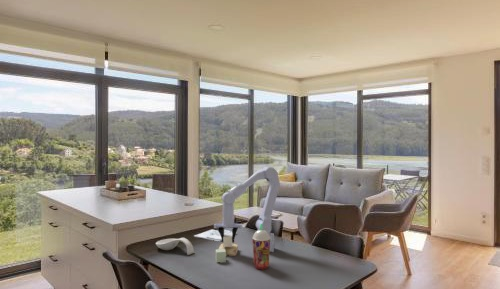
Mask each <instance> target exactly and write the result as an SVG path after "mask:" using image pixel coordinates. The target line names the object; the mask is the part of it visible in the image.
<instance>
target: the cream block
mask: <svg viewBox="0 0 500 289" xmlns="http://www.w3.org/2000/svg"><path fill="white" fill-rule="evenodd" d="M232 237H233V236H232V235H224V237H223V242H222V244H223V247H232V246H233V244H234V243H232Z"/></svg>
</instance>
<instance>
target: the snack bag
mask: <svg viewBox="0 0 500 289" xmlns="http://www.w3.org/2000/svg"><path fill="white" fill-rule="evenodd" d="M237 234H238V231H237V232H236V235H237ZM224 235H232V230H228V229H224ZM193 237H194V238H199V239H205V240H209V241H213V240H214V241H213V242H218V241H219V242H222V238H221V235H220V233H219V231H218V229H217V230H215V229H214V228H213V229H209V230H206V231H203V232H201V233H198V234H194V235H193Z"/></svg>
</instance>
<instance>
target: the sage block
mask: <svg viewBox="0 0 500 289" xmlns="http://www.w3.org/2000/svg"><path fill="white" fill-rule="evenodd" d="M215 262H220V263H226V262H227V255H226V251H225V249H219V248H218V249H215Z"/></svg>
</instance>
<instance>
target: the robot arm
mask: <svg viewBox="0 0 500 289" xmlns="http://www.w3.org/2000/svg"><path fill="white" fill-rule="evenodd" d="M260 180H265V181H266V182H267V183H268V185H269V186H268V190H267V193H266V197H265V200H264V203H263V207H262V210H261V214H260V215H259V216H258V218H257V220H256V221H255V228H256V229H257V230H256V231H258V230H261V224H262V230H265V231H267V232H268V234H269V236H270V238H271V239H270V253H274V252H275V246H276V245H275V233H274V232H272V228H273V227H272V221H273V220H272V216H273V214H272V213H273V212H274V211H273V210H274V207H275V203H276V200H277V196H278V193H279V189H280V185H281V183H280V179H279V173H278V171H277V170H276V168H274V167H270V166H268V165H264V166H262V168H259V169H258V170H256V171H255V172H254V173H253V174H252V175H251V176H250V177H248V178H247V179H246V180H245V181H244V182H243V183H241V182H239V183H235V184H234V185H235V186H233V187H232V188H230V189H228V190H227V191H226V192H224V193H223V194H222V195H221V201H222V223H214V224H213V229H217V231H219V233H220V235H221V238H222V241H221V242H222V243H223V237H224V230H225V229H232V230H231V231H232V236H233V237H232V243H233V244H235V239H236V235H237V234H236V232H237V233H238V230H239V229H243V224H242V223H235V222H234V219H235V218H234V217H235V215H234V214H235V213H234V212H235V211H234V209H235V208H234V203H235V201H236V200H237V199H238V198H240V197H242V195H244V194H245V193H246V191H247V188H249V187H250V186H252V185H253V184H255V183H257V181H260Z"/></svg>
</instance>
